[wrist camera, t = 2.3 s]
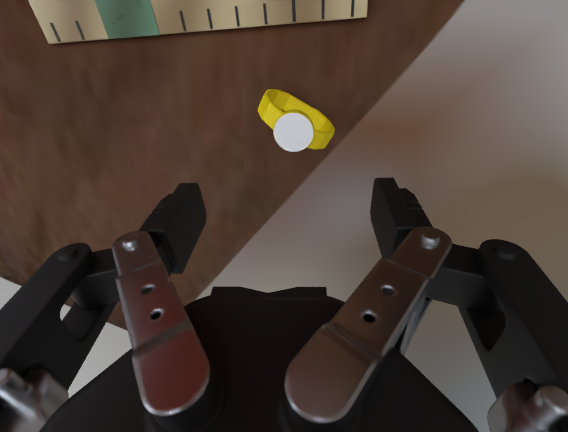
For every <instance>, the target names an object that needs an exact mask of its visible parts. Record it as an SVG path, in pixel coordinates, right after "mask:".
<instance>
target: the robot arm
mask: <svg viewBox="0 0 568 432" xmlns="http://www.w3.org/2000/svg"><path fill="white" fill-rule="evenodd" d="M370 214H371V221H372V225H373V228H374V232H375V235H376V238H377V241H378V245H379V248H380V251H381V255H382V258H381V259H380V260H379V261H378V263H377V264H376V265H375V266H374V267H373V269H372V270H371V271H370V272H369V274H368V275H367V276H366V277H365V279H364V280H363V281H362V282H361V284H360V285H359V286H358V287H357V289H356V290H355V291H354V292H353V293H352V295H351V296H350V297H349V298H348V300H347V301H346V302H343V301H341V300H339V299H336V298H333V297H329V296H327V294H326V293H327V292H326V287H295V288H290V289H286V290H280V291H276V292H270V293H266V292H261V291H256V290H252V289H247V288H243V287H213V289H212V292H211V295H210V296H206V297H203V298H200V299H198V300H195V301H193V302H191V303H189V304H188V305H186V306H185V307H184V306H183V304H182V302H181V300H180V298H179V296H178V293H177V291H176V289H175V287H174V285H173V283H172V281H171V278H170V275H171V274H182V273H183V271H184V269H185V267H186V264H187V262H188V260H189V258H190V256H191V254H192V251H193V249H194V247H195V245H196V243H197V241H198V238H199V236H200V234H201V232H202V230H203V228H204V225H205V223H206V209H205V206H204V202H203V198H202V195H201V191H200V188H199V185H198V184H197V183H180V184H179V185H178V187H177V188H176V189H175V191H174V192H173V194H169V195H168V196H166V197H165V198H163V199H162V200H161V201H160V202H159V204H158V205H157V206H156V208H155V209H154V210H153V212H152V214H150V216H149V217H148V218H147V220H146V221H145V222H144V224H143V225H142V226H141V228H140V229H139V230H138V231H133V232H130V233H127V234H125V235H123V236H121V237H120V238H118V239H117V240H116V241H115V242H114V243H113V245H112V248H110V249H105V250H101V251H97V252H92V251H91V249H90V247H89V246H88V245H87V244H85V243H75V244H71V245H68V246H65V247H63V248H61V249H59V250H58V251H56V252H55V253H53V254H52V255H51V256H50V257H49V258H48V259H47V260H46V261H45V263H44V264H43V265H42V266H41V267H40V268H39V269H38V270H37V271H36V272H35V273H34V274H33V275H32V276H31V278H30V279H29V280H28V281H27V282H26V283H25V284H24V285H23V286H22V287H21V288H20V289H19V290H18V291H17V293H16V294H15V295H14V296H13V297H12V298H11V299H10V300H9V301H8V302H7V303H6V304H5V305H4V306H3V307H2V309H1V310H0V432H479V431H478V430H477V428H476V427H475V426H474V425H473V424H472V422H471V421H470V420H469V419H468V418H467V417H466V416H465V415H464V414H463V413H462V412H461V411H460V410H459V409H458V408H457V407H456V406H455V405H454V404H453V403H452V402H450V401H449V399H448V398H447V397H446V396H445V395H444V394H442V393H441V392H440V391H439V390H438V389H437V388H436V387H435V386H434V385H433V384H432V383H431V382H430V381H429V380H428V379H427V378H426V377H425V376H424V375H423V374H422V373H421V372H420V371H419V370H418V369H417V368H416V367H415V366H414V365H413V364H412V363H411V362H410V361H409V360H408V359H406V358H405V357H404V355H405V353H406V351H407V348H408V346H409V344H410V341H411V339H412V337H413V335H414V333H415V331H416V329H417V327H418V325H419V324H420V322H421V320H422V318H423V316H424V314H425V313H426V311H427V309H428V306H429V305H430V303H431V301H432V299H433V300H437V301H441V302H445V303H448V304H452V305H456V306H458V308H459V311H460V313H461V315H462V318H463V320H464V323H465V325H466V327H467V330H468V332H469V334H470V337H471V339H472V342H473V344H474V346H475V349H476V351H477V353H478V355H479V358H480V360H481V362H482V365H483V367H484V370H485V372H486V374H487V377H488V379H489V381H490V384H491V386H492V388H493V391H494V393H495V396H496V398H497V400H496V401H495V402H494V403H493V405H492V406H491V407H490V409H489V411H488V416H487V418H488V425H489V429H490V432H568V302H567V301H566V300H565V298H564V297H563V296H562V295H561V293H560V292H559V291H558V290H557V288H556V287H555V286H554V285H553V284H552V282H551V281H550V280H549V278H548V277H547V276H546V275H545V273H544V272H543V271H542V270H541V268H540V267H539V266H538V265H537V263H536V262H535V261H534V260H533V258H532V257H531V256H530V255H529V254H528V252H527V251H525V250H524V249H523V248H521V247H520V246H518V245H516V244H514V243H511V242H508V241H504V240H497V239H493V240H492V239H491V240H486V241H484V242H483V243H482V244H481V245H480V248H479V249H475V248H469V247H464V246H459V245H456V244H453V243H452V240H451V238H450V237H449V236H448V235H447V234H446V233H444V232H443V231H441V230H439V229H436V228H433V226H432V225H431V223H430V222H429V219H428V218H427V216H426V214H425V213H424V211H423V210H422V207H421V205H420V204H419V203H418V200H417V198H416V197H415V195H414V194H413V193H411V192H410V191H409V190H407V189H406V188H404V189H403V188H401V189H399V187H398V185H397V183H396V182H395V180H394V178H376V179H375V180H374V185H373V193H372V201H371V210H370ZM70 295H71V296H72V298H73V299H74V300H75V301H76V302H75V303H74V305H73V306H72V307H71V309H70V310H69V312H68V313H67V314H66V316H65V317H64V319H63V320H62V321H61V319H60V311H61V308H62V306H63V305H64V303H65V302H66V301H67V299H68V298H69V297H70ZM118 301H121V305H122V309H123V313H124V317H125V321H126V325H127V329H128V333H129V337H130V341H131V346H132V349H130V350H129V351H128V352H126V353H125V354H124V355H123V356H122V357H120V358H119V359H118V360H117V361H115V362H114V363H113V364H111V365H110V366H109V367H108V368H106V370H104V371H103V372H102V373H100V374H99V375H98V376H97V377H95V378H94V379H93V380H91V381H90V382H89V383H88V384H87V385H85V386H84V387H83V388H82V389H80V390H79V391H78V392H76V393H75V394H74V395H73V396H71V398H69V399H68V389H69V387H70V385H71V384H72V382H73V380H74V378H75V377H76V375H77V373H78V371H79V369H80V368H81V366H82V364H83V362H84V361H85V359H86V357H87V355H88V354H89V352H90V350H91V348H92V346H93V345H94V343H95V341H96V339H97V337H98V336H99V334H100V332H101V330H102V329H103V327H104V325H105V323H106V322H107V320H108V318H109V316H110V315H111V313H112V311H113V309H114V307H115V306H116V304H117V302H118Z"/></svg>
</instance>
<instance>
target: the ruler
mask: <svg viewBox="0 0 568 432" xmlns="http://www.w3.org/2000/svg"><path fill="white" fill-rule="evenodd" d="M28 1H29V3H30V5H31V7H32V9H33V11H34V14H35V16H36V18H37V20H38V22H39V24H40V26H41V28H42V30H43V32H44V34H45V37H46V39H47V41H48V43H49V44H55V43H67V42H79V41H91V40H103V39H116V38H128V37H140V36H152V35H162V34H174V33H186V32H198V31H210V30H222V29H234V28H246V27H258V26H270V25H282V24H294V23H306V22H318V21H330V20H342V19H354V18H366V17H367V6H368V0H28Z"/></svg>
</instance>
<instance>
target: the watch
mask: <svg viewBox="0 0 568 432" xmlns="http://www.w3.org/2000/svg"><path fill="white" fill-rule="evenodd" d="M257 110H258V113H259V114H260V116H261V118H262V119H263V121H264V122H265V123H266V124H267V125H268V126H270V127H271V128H272V129H273V134H274V138H275V140H276V142H277V143H278V145H279V146H280V147H282V148H283V149H284V150H287V151H290V152H297V151H301V150H303V149H305V148H306V147H307V148H310V149H315V150H316V149H323V148H325V147H326V146H327V144H328V142H329V141H330V139H331V138H332V136H333V135H334V131H335V129H334V127H333V125H332V124H331V122H330V121H329V120H328V119H327V118H326V117H325V116H324V115H323V114H322V113H321V112H320V111H318V110H317V109H314V108H313V107H311V106H309V105H308V104H306V103H304V102H302V101H301V100H299V99H297V98H296V97H294V96H292V95H291V94H289V93H286V92H283V91H280V90H277V89H268V90H266V92H265V94H264V96H263V98H262V100H261V103H260V105H259V107H258V109H257ZM282 110H284V111H285V112H283V111H282Z"/></svg>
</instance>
